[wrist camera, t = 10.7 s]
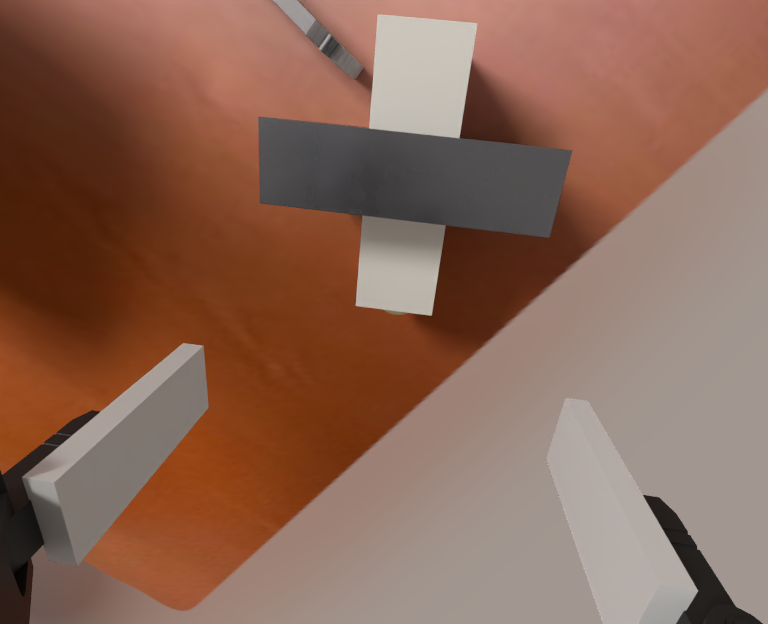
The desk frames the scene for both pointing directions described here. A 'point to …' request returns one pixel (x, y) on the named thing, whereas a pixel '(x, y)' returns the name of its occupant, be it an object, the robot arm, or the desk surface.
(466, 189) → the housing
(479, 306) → the desk surface
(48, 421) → the desk surface
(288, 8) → the caliper
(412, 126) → the plug
